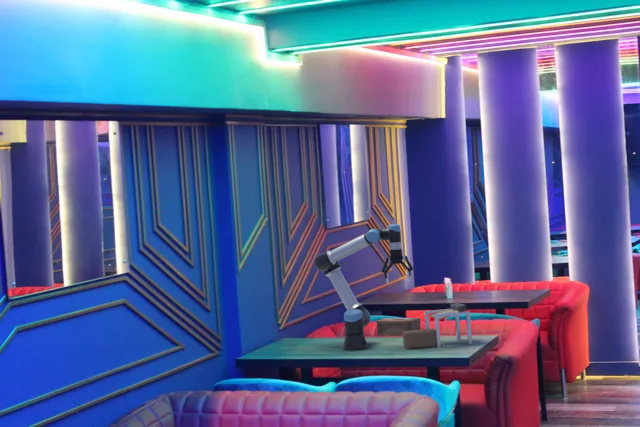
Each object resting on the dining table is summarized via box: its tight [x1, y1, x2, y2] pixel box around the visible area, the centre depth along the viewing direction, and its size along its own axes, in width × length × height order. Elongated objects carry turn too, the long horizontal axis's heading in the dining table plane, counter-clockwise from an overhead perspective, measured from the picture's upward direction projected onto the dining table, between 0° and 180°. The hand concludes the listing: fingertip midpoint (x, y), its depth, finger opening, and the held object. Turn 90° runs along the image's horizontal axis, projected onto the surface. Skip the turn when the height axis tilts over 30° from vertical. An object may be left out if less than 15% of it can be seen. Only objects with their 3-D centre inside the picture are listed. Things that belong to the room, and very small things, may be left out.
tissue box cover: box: [376, 317, 422, 337], centre depth 645 cm, size 26×14×10 cm, turn 63°
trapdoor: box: [429, 302, 468, 320], centre depth 590 cm, size 17×19×4 cm
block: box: [402, 328, 437, 350], centre depth 585 cm, size 10×10×20 cm
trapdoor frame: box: [423, 308, 473, 349], centre depth 590 cm, size 22×22×20 cm
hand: (398, 282), depth 601 cm, fingers open, 13 cm apart
